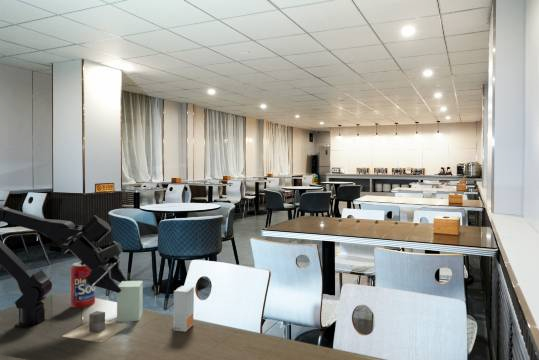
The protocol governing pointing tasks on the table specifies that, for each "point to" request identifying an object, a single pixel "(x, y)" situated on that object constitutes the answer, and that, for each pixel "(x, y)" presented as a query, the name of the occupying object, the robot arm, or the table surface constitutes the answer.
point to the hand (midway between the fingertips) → (123, 287)
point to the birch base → (96, 336)
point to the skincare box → (183, 308)
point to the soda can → (80, 286)
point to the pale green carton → (130, 301)
